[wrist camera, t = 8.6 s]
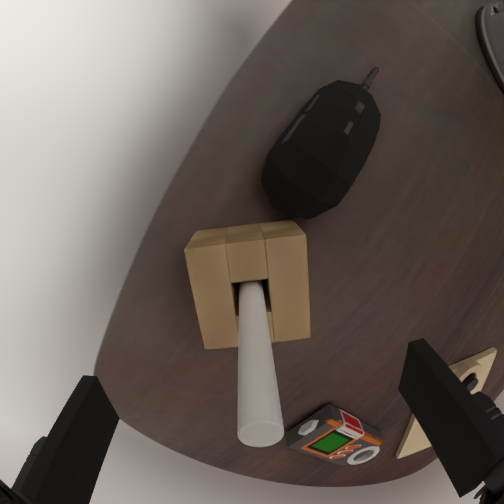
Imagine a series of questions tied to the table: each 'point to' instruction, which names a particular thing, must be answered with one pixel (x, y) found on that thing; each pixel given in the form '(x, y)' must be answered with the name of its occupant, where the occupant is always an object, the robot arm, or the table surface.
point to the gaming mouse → (322, 150)
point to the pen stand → (250, 279)
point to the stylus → (256, 372)
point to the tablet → (476, 365)
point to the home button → (470, 382)
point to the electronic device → (335, 437)
